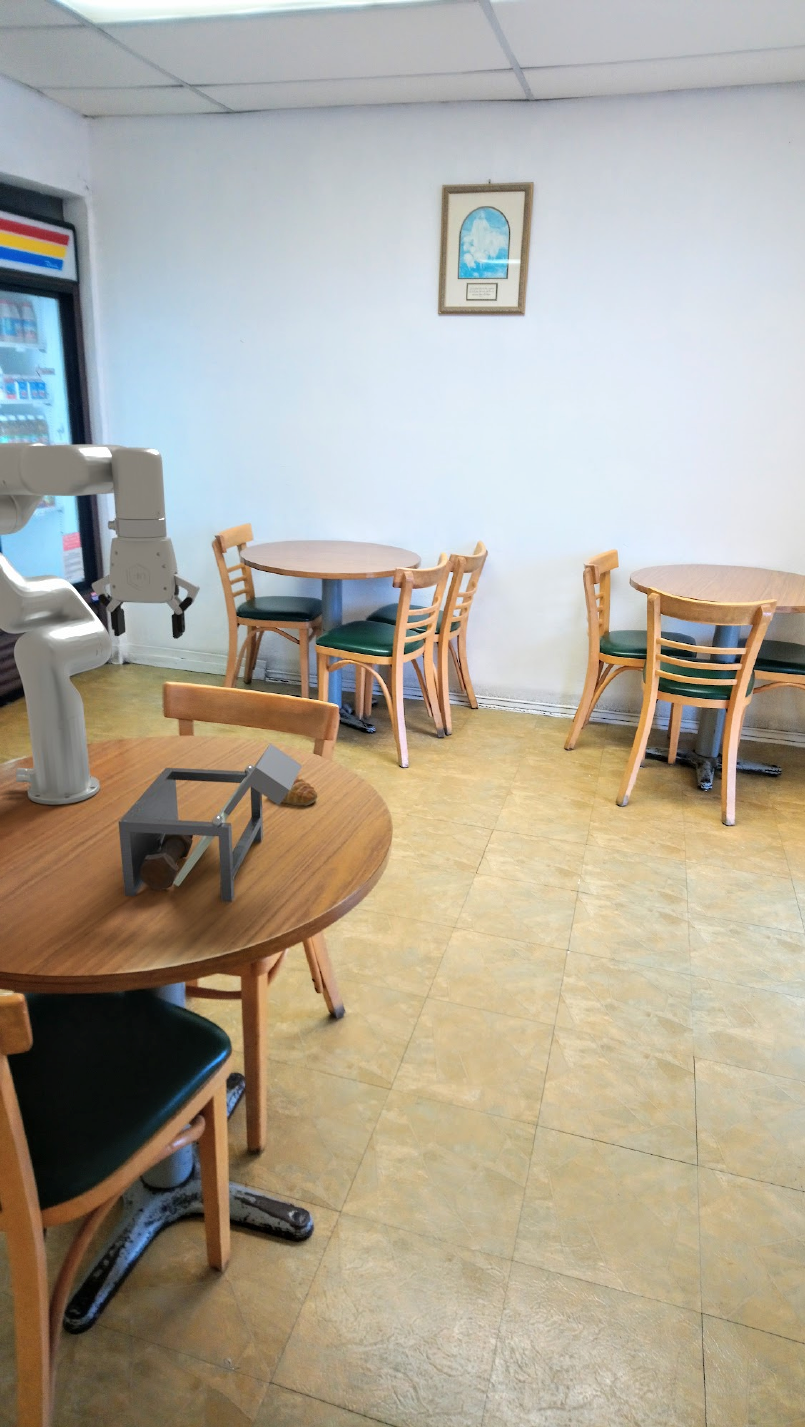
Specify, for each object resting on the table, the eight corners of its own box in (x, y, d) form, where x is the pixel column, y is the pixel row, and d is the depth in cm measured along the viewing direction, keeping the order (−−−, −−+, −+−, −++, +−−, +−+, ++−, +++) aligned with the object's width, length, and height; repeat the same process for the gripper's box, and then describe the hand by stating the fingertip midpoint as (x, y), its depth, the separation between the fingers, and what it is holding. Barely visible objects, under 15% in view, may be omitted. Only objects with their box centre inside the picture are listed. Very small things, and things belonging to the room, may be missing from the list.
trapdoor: (206, 904, 130) (172, 882, 129) (235, 851, 146) (205, 831, 145) (285, 800, 123) (250, 776, 123) (306, 756, 140) (275, 735, 139)
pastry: (326, 799, 163) (325, 781, 162) (301, 812, 158) (301, 792, 157) (289, 787, 168) (288, 769, 167) (264, 798, 163) (264, 780, 162)
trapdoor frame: (124, 895, 128) (117, 814, 124) (170, 832, 148) (165, 760, 144) (231, 901, 127) (228, 819, 123) (263, 837, 147) (260, 765, 143)
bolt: (198, 816, 142) (172, 856, 128) (204, 844, 143) (179, 887, 129) (163, 821, 142) (134, 861, 128) (170, 849, 144) (141, 891, 129)
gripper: (78, 530, 133) (88, 638, 139) (188, 533, 132) (194, 643, 138) (97, 525, 141) (106, 628, 146) (202, 528, 140) (207, 632, 145)
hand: (149, 635), depth 142 cm, fingers open, 9 cm apart
